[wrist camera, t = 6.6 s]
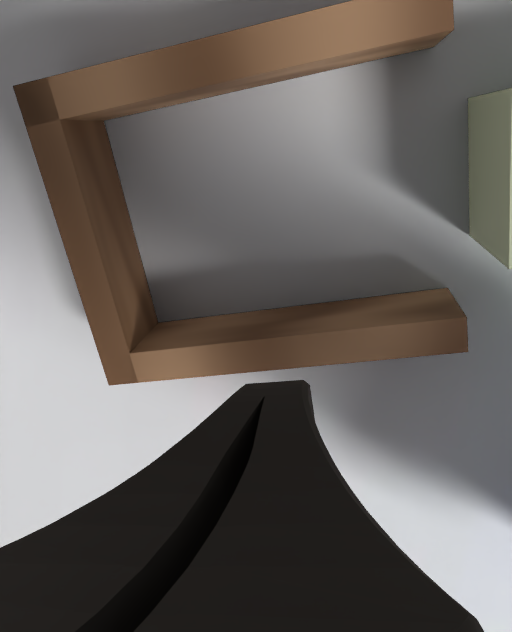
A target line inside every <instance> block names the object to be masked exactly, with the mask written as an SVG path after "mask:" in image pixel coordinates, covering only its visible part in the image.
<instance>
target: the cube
mask: <svg viewBox="0 0 512 632" xmlns="http://www.w3.org/2000/svg"><path fill="white" fill-rule="evenodd" d="M468 146H469V234H470V236H471V237H472V238H473V239H474V240H475V241H476V242H478V243H479V244H480V245H481V246H482V247H483V248H485V249H486V250H487V251H488V252H489V253H490V254H492V255H493V256H494V257H495V258H496V259H498V260H499V261H500V262H501V263H502V264H503V265H505V266H506V267H507V268H508V269H512V88H509V89H505V90H501V91H496V92H492V93H488V94H484V95H479V96H475V97H471V98H468Z"/></svg>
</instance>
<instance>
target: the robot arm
mask: <svg viewBox="0 0 512 632" xmlns="http://www.w3.org/2000/svg"><path fill="white" fill-rule="evenodd" d="M0 632H484V631H483V629H482V627H481V625H480V624H479V622H478V620H477V619H476V618H475V617H474V616H473V615H472V614H470V613H469V612H468V611H467V610H466V609H465V608H463V607H462V606H461V605H460V604H459V603H458V602H456V601H455V600H454V599H453V598H452V597H450V596H449V595H448V594H447V593H446V592H445V591H444V590H443V589H442V588H440V587H439V586H438V585H437V584H436V583H435V582H434V581H433V580H432V579H431V578H429V577H428V576H427V575H426V574H425V573H424V572H423V571H422V570H421V569H420V568H419V567H418V566H417V565H416V564H415V563H414V562H413V561H412V560H411V559H410V558H409V557H408V556H407V555H406V554H405V553H404V552H403V551H402V550H401V549H400V548H399V547H398V546H397V545H396V544H395V542H394V541H393V540H392V539H391V538H390V537H389V536H388V534H387V533H386V532H385V531H384V530H383V529H382V528H381V526H380V525H379V524H378V523H377V522H376V521H375V519H374V518H373V517H372V516H371V515H370V514H369V513H368V511H367V510H366V509H365V508H364V506H363V505H362V504H361V502H360V501H359V499H358V498H357V497H356V495H355V494H354V493H353V491H352V490H351V488H350V487H349V485H348V484H347V482H346V481H345V479H344V478H343V476H342V475H341V473H340V472H339V470H338V468H337V467H336V465H335V463H334V461H333V460H332V458H331V456H330V454H329V452H328V450H327V448H326V446H325V444H324V442H323V440H322V438H321V436H320V433H319V431H318V428H317V426H316V423H315V418H314V411H313V404H312V397H311V390H310V385H309V384H308V383H307V382H306V381H304V380H296V381H282V382H268V383H253V384H245V385H244V386H243V387H241V388H240V389H239V390H238V391H237V392H235V393H234V394H233V395H232V396H231V397H230V398H229V399H228V400H226V401H225V402H224V403H223V404H222V405H221V406H220V407H219V408H218V409H217V410H215V411H214V412H213V413H212V414H211V415H210V416H209V417H208V418H206V419H205V420H204V421H203V422H202V423H201V424H200V425H198V426H197V427H196V428H195V429H194V430H193V431H192V432H190V433H189V434H188V435H187V436H185V437H184V438H183V439H182V440H180V441H179V442H178V443H177V444H175V445H174V446H173V447H172V448H170V449H169V450H168V451H167V452H165V453H164V454H163V455H162V456H160V457H159V458H158V459H156V460H155V461H154V462H152V463H151V464H150V465H148V466H147V467H145V468H144V469H142V470H141V471H140V472H138V473H137V474H135V475H134V476H132V477H131V478H129V479H128V480H126V481H124V482H123V483H121V484H120V485H118V486H117V487H115V488H114V489H112V490H111V491H109V492H107V493H106V494H104V495H102V496H100V497H99V498H97V499H95V500H93V501H91V502H90V503H88V504H86V505H84V506H82V507H81V508H79V509H77V510H75V511H73V512H72V513H70V514H68V515H66V516H64V517H63V518H61V519H59V520H57V521H55V522H54V523H52V524H50V525H48V526H46V527H44V528H42V529H39V530H37V531H35V532H33V533H31V534H29V535H27V536H25V537H23V538H21V539H19V540H17V541H14V542H12V543H10V544H8V545H5V546H3V547H1V548H0Z"/></svg>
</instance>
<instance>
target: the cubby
mask: <svg viewBox="0 0 512 632" xmlns="http://www.w3.org/2000/svg"><path fill="white" fill-rule="evenodd" d="M453 30H454V16H453V0H352V1H348V2H344V3H340V4H336V5H332V6H328V7H324V8H320V9H316V10H312V11H308V12H304V13H300V14H297V15H293V16H289V17H285V18H281V19H277V20H273V21H269V22H265V23H261V24H257V25H253V26H249V27H245V28H241V29H237V30H233V31H229V32H225V33H221V34H217V35H213V36H209V37H205V38H201V39H197V40H193V41H189V42H185V43H181V44H178V45H174V46H170V47H166V48H162V49H158V50H154V51H150V52H146V53H142V54H138V55H134V56H130V57H126V58H122V59H118V60H114V61H110V62H106V63H102V64H98V65H94V66H90V67H86V68H82V69H78V70H74V71H70V72H66V73H62V74H59V75H55V76H51V77H47V78H43V79H39V80H35V81H31V82H27V83H23V84H19V85H15V86H13V88H14V91H15V94H16V97H17V101H18V104H19V107H20V110H21V113H22V116H23V119H24V122H25V126H26V129H27V132H28V135H29V138H30V141H31V144H32V147H33V150H34V154H35V157H36V160H37V163H38V166H39V169H40V172H41V175H42V178H43V182H44V185H45V188H46V191H47V194H48V197H49V200H50V203H51V207H52V210H53V213H54V216H55V219H56V222H57V225H58V228H59V231H60V235H61V238H62V241H63V244H64V247H65V250H66V253H67V256H68V260H69V263H70V266H71V269H72V272H73V275H74V278H75V281H76V284H77V288H78V291H79V294H80V297H81V300H82V303H83V306H84V309H85V312H86V316H87V319H88V322H89V325H90V328H91V331H92V334H93V337H94V341H95V344H96V347H97V350H98V353H99V356H100V359H101V362H102V365H103V369H104V372H105V375H106V378H107V381H108V384H109V385H118V384H129V383H139V382H150V381H161V380H172V379H182V378H193V377H204V376H214V375H225V374H236V373H247V372H257V371H268V370H279V369H290V368H300V367H311V366H322V365H333V364H343V363H354V362H365V361H376V360H386V359H397V358H408V357H419V356H429V355H440V354H451V353H462V352H468V334H467V317H466V315H465V314H464V312H463V311H462V309H461V308H460V306H459V304H458V303H457V301H456V300H455V298H454V297H453V295H452V294H451V292H450V291H449V289H448V288H442V289H433V290H425V291H417V292H408V293H400V294H392V295H384V296H375V297H367V298H359V299H351V300H342V301H334V302H326V303H317V304H309V305H301V306H293V307H284V308H276V309H268V310H260V311H251V312H243V313H235V314H226V315H218V316H210V317H202V318H193V319H185V320H177V321H169V322H160V323H158V320H157V316H156V313H155V309H154V305H153V302H152V298H151V294H150V290H149V287H148V283H147V279H146V276H145V272H144V268H143V265H142V261H141V257H140V253H139V250H138V246H137V242H136V239H135V235H134V231H133V228H132V224H131V220H130V216H129V213H128V209H127V205H126V202H125V198H124V194H123V191H122V187H121V183H120V179H119V176H118V172H117V168H116V165H115V161H114V157H113V153H112V150H111V146H110V142H109V139H108V135H107V131H106V128H105V124H104V121H105V120H109V119H114V118H118V117H123V116H127V115H132V114H136V113H141V112H145V111H150V110H154V109H158V108H163V107H167V106H172V105H176V104H181V103H185V102H190V101H194V100H199V99H203V98H208V97H212V96H217V95H221V94H226V93H230V92H234V91H239V90H243V89H248V88H252V87H257V86H261V85H266V84H270V83H275V82H279V81H284V80H288V79H293V78H297V77H302V76H306V75H310V74H315V73H319V72H324V71H328V70H333V69H337V68H342V67H346V66H351V65H355V64H360V63H364V62H369V61H373V60H378V59H382V58H386V57H391V56H395V55H400V54H404V53H409V52H413V51H418V50H422V49H427V48H431V47H434V46H435V45H437V44H438V43H439V42H440V41H441V40H442V39H444V38H445V37H446V36H447V35H448V34H449V33H450V32H452V31H453Z"/></svg>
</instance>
